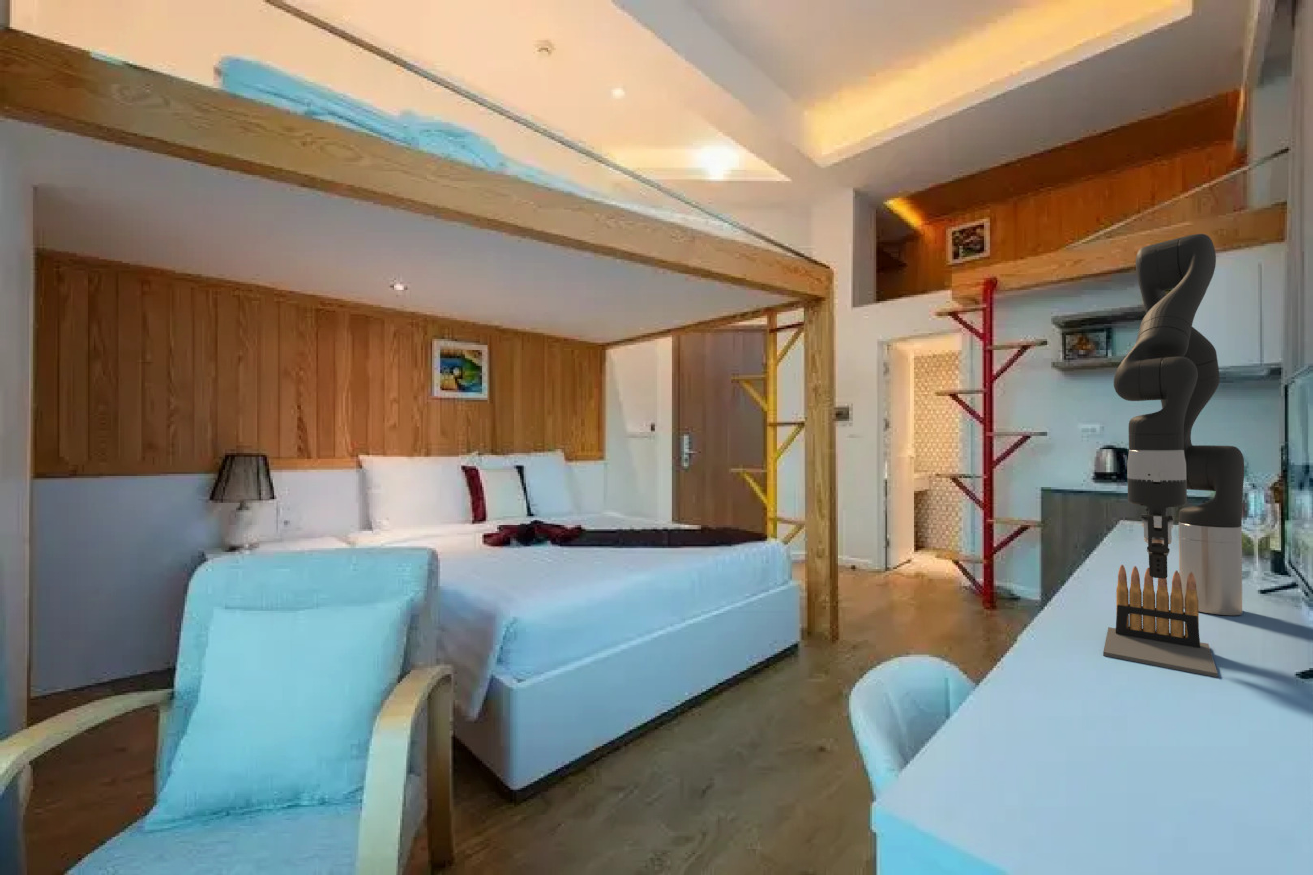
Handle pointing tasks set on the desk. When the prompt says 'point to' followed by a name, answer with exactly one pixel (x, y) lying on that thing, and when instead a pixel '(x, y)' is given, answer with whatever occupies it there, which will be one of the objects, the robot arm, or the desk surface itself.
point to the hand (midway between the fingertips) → (1157, 572)
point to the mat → (1160, 653)
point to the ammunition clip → (1157, 609)
